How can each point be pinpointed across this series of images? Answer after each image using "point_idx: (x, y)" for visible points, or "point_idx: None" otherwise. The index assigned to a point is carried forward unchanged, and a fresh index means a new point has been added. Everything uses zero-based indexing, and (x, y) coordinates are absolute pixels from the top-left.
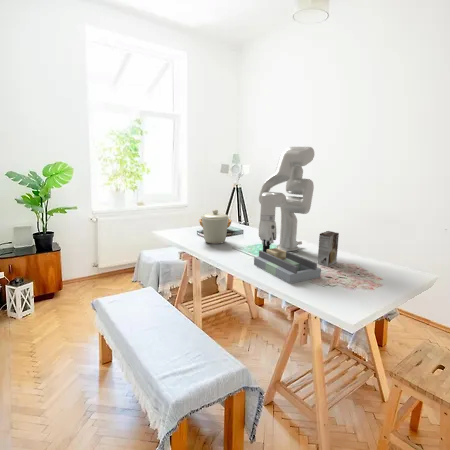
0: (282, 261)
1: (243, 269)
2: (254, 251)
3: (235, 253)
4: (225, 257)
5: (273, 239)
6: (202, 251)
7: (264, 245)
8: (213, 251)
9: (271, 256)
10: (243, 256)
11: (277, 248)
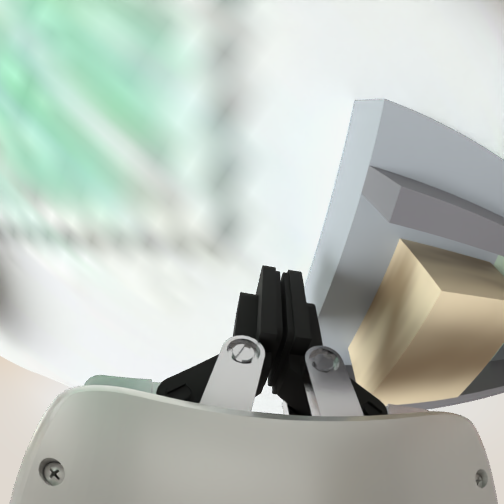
0: (500, 392)
1: None
2: (28, 148)
3: (41, 287)
4: (97, 363)
5: (411, 420)
6: (18, 356)
7: (276, 392)
8: (15, 333)
9: (439, 406)
10: (100, 294)
11: (447, 311)
